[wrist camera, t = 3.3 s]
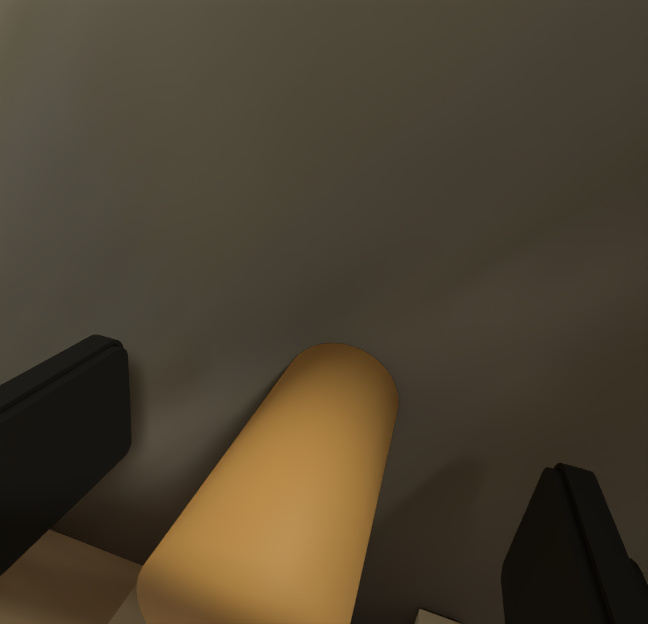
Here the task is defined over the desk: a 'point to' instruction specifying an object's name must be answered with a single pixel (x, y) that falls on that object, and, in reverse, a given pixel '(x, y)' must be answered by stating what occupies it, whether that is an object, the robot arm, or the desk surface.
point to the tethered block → (283, 504)
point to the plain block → (65, 583)
